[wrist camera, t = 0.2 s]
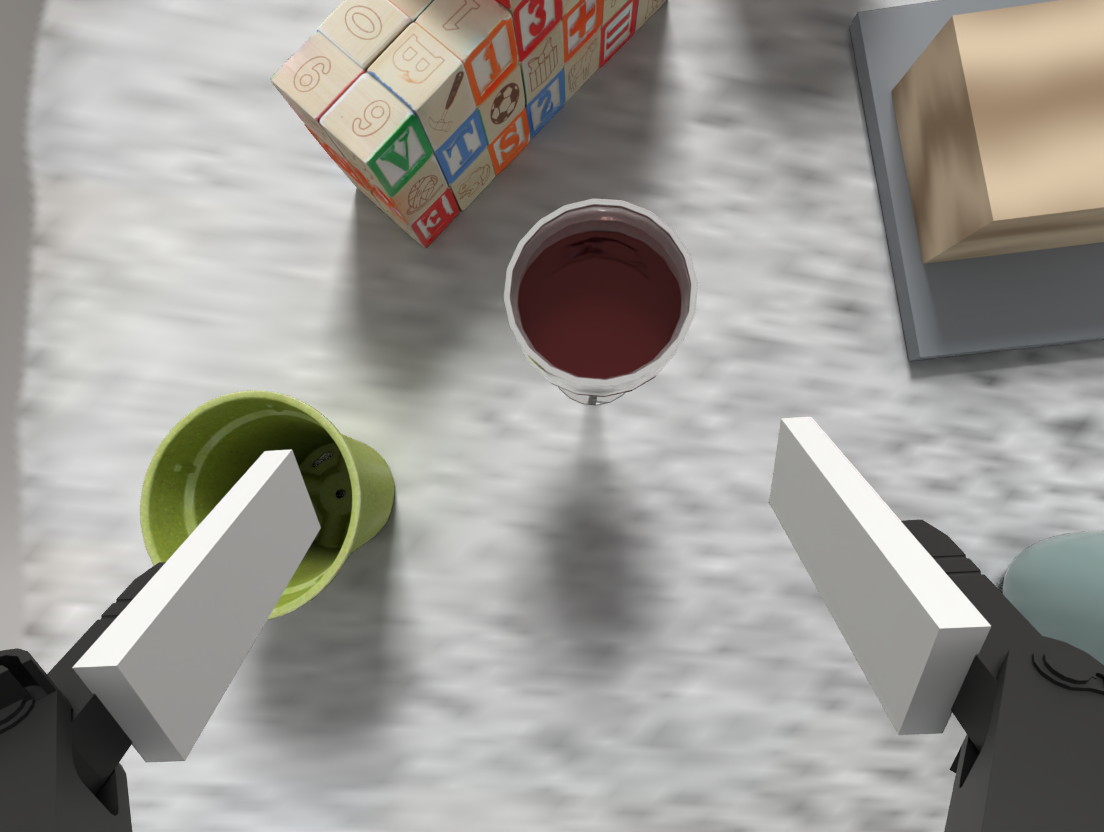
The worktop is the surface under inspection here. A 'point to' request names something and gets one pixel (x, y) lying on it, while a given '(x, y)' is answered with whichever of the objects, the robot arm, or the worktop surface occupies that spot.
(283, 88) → the stack of blocks
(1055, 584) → the cup
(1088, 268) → the base board
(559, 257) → the wineglass
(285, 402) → the plant pot
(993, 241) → the oak riser
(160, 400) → the worktop surface
